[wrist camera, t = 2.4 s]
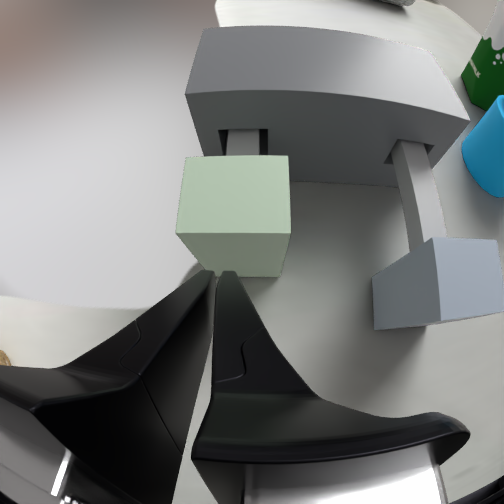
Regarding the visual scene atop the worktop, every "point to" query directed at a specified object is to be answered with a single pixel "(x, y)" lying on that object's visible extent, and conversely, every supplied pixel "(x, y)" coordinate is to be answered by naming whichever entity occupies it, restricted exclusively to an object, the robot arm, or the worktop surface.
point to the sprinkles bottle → (4, 359)
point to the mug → (487, 150)
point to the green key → (237, 208)
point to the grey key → (433, 259)
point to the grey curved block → (322, 99)
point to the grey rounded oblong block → (400, 2)
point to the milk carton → (487, 63)
